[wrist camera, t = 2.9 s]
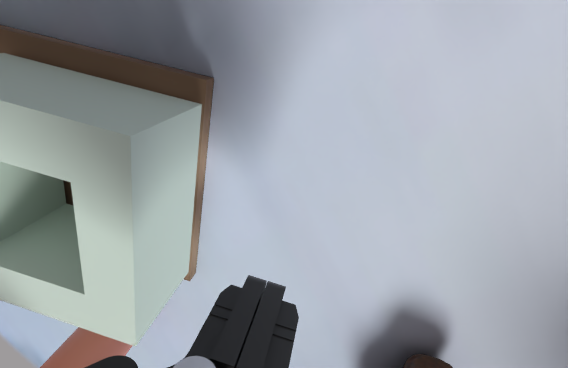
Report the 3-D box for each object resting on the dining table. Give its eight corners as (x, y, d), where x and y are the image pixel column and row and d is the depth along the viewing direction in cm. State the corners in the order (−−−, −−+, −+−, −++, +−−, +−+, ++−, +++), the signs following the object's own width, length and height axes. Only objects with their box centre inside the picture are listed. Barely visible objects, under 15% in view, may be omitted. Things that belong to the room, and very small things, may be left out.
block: (3, 52, 15) (-145, 60, 11) (201, 104, 14) (130, 136, 10) (37, 224, 19) (-57, 280, 15) (188, 272, 19) (135, 346, 14)
